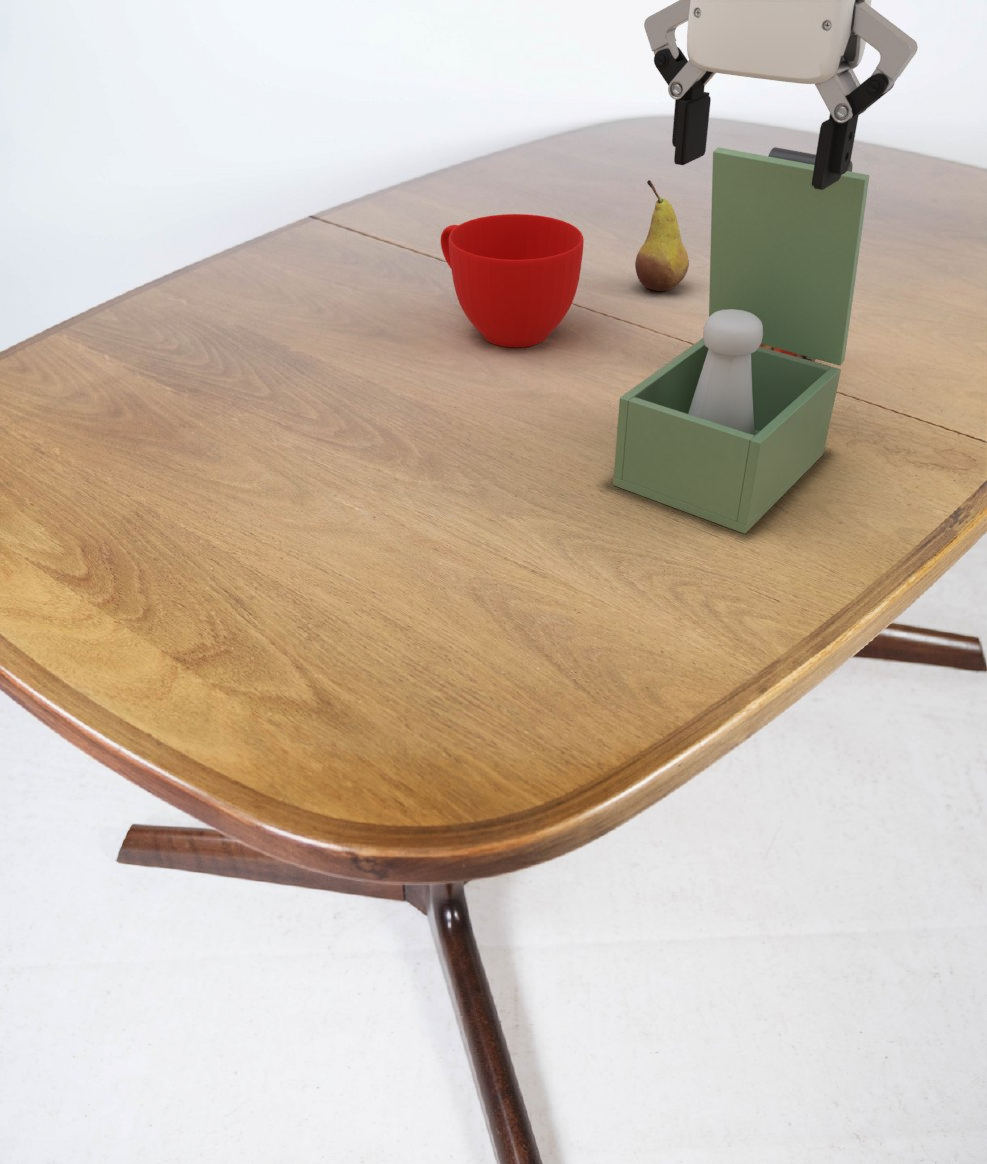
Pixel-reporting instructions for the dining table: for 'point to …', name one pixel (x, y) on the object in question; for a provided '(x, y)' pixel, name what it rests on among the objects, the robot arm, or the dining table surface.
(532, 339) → the ceramic cup
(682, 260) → the fruit
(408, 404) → the dining table surface
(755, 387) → the holder
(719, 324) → the salt shaker
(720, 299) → the lid
